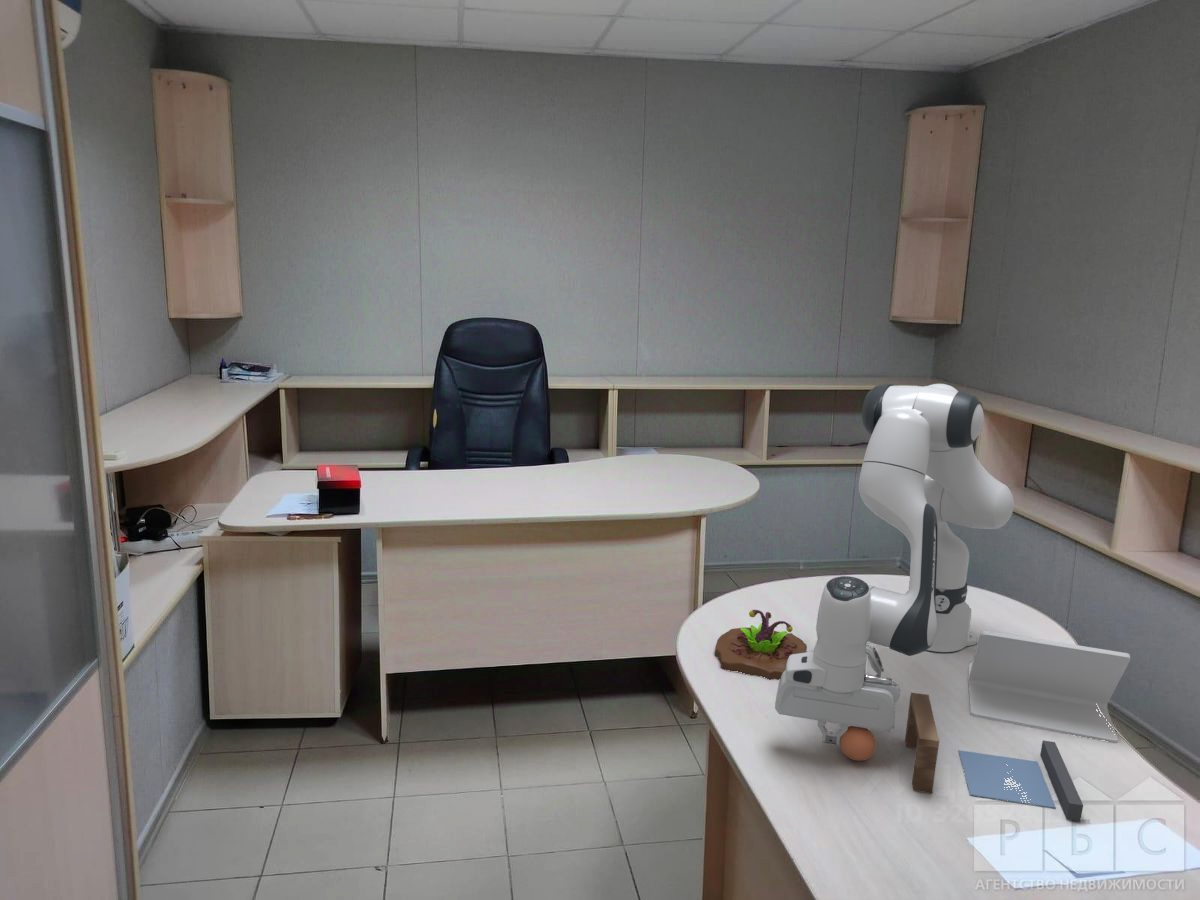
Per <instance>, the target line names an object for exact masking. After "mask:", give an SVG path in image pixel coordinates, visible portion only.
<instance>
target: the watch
mask: <svg viewBox="0 0 1200 900" xmlns="http://www.w3.org/2000/svg"><path fill="white" fill-rule="evenodd" d="M866 654H867V658H868V659H867V660H868V661H869V664H870V666H871V668H872V670H873V671H874V672H875V673H876V675H874V676H877V677H881V678H882V673H883V672H884V669H885V668H884V665H883V662H882V659H881V656H880V654H879V652H878V650H877V649H876V648H875V646H873V647H872V646H870V644H866Z"/></svg>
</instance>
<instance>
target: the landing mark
mask: <svg viewBox="0 0 1200 900" xmlns="http://www.w3.org/2000/svg"><path fill="white" fill-rule="evenodd" d="M958 755H959V759H960V762H961V763H960V764H961V767H962V766H963V767H962V770H963V769H964V771H963V774H964V773H965V775H964V778H965V777H966V778H965V782H966V781H967V782H966V786H967V789H969V790H968V793H970V794H969V796H970V795H974V796H973V797H976V796H980V797H979V798H982V797H986V798H985V799H989V798H990V799H989V800H995V799H998V800H997V801H1002V800H1006V801H1005V802H1008V801H1012V802H1011V803H1015V802H1021V803H1022V801H1023V803H1025V801H1024V800H1026V803H1027V804H1026V805H1028V804H1032V805H1031V806H1034V805H1036V807H1041V808H1047V809H1054V810H1055V809H1056V808H1057V807H1056V805H1055V802H1054V799H1053V796H1052V794H1051V792H1050V790H1049V787H1048V784H1047V782H1046V779H1045V777H1044V774H1043V771H1042V769H1041V767H1040V765H1039V762H1038V761H1037V760H1031V759H1030V760H1029V759H1024V758H1023V759H1022V758H1015V757H1009V756H1001V755H995V754H988V753H987V754H986V753H982V752H981V753H980V752H974V751H967V750H959V749H958ZM1006 764H1007V765H1008V766H1007V765H1006ZM1012 769H1013V770H1012ZM1010 771H1011V772H1010ZM1007 772H1008V773H1009V774H1008V773H1007ZM1012 776H1013V777H1012ZM1010 777H1011V778H1012V779H1013V780H1012V781H1013V782H1015V781H1016V784H1018V785H1019V783H1020V784H1021V785H1020V786H1018V787H1019V789H1018V787H1011V785H1004V783H1005V784H1007V783H1009V782H1007V783H1006V782H1005V779H1006V780H1008V779H1007V778H1009V779H1010ZM1004 778H1005V779H1004ZM1010 780H1011V779H1010ZM1014 780H1015V781H1014ZM1012 781H1010V782H1011V783H1012ZM1009 784H1010V783H1009ZM1012 784H1013V783H1012ZM1016 784H1014V785H1016ZM1014 785H1012V786H1014ZM1008 786H1010V788H1009V787H1008ZM1016 786H1017V785H1016ZM1004 787H1005V788H1004ZM1006 787H1008V788H1006ZM1021 787H1022V788H1021ZM1012 788H1013V789H1012ZM1015 788H1017V789H1015ZM1004 789H1005V790H1004ZM1007 789H1008V790H1007ZM1010 789H1012V790H1010ZM1022 789H1023V790H1022ZM1016 790H1017V791H1016ZM1019 790H1021V791H1019ZM1023 792H1025V793H1026V792H1027V793H1026V794H1024V793H1023ZM1018 793H1019V794H1018ZM1021 793H1023V794H1021ZM1022 795H1023V796H1025V795H1027V796H1026V797H1027V799H1026V797H1022ZM1020 798H1022V799H1020ZM1023 798H1025V799H1023ZM1030 799H1031V800H1030ZM1007 800H1008V801H1007ZM1021 800H1022V801H1021ZM1027 800H1029V801H1027ZM1028 802H1030V803H1028ZM1021 803H1020V804H1021ZM1033 804H1034V805H1033ZM1056 810H1057V809H1056Z"/></svg>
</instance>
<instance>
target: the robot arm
mask: <svg viewBox="0 0 1200 900" xmlns="http://www.w3.org/2000/svg"><path fill="white" fill-rule="evenodd" d="M984 415H985V413H984V407H983V403H982V402H981V401H980V399H979V398H978V397H977V396H976V395H975V394H971V393H969V392H966V391H963V390H957V389H956V388H955V387H954V386H952V385H949V384H946V383H932V384H929V385H924V386H921V385H894V384H892V383H885V384H877V385H875V386H874V387H872V388H871V389H870V390H869V391H868V392H867V394H866V395H865V398H864V400H863V403H862V409H861V421H862V425H863V427H864V428H865V430H866V431H867V433H868V434H870V435H871V436H870V438H869V441H868V444H867V446H866V450H865V453H864V457H863V460H862V463H861V465H862V466H861V467H860V468H861V469H860V473H859V480H858V493H859V495H860V498H861V500H862V502H863V504H864V505H865V506H866V507H867V508H868V510H870V511H871V512H872V513H874V514H875V515H876V516H877V517H878V518H880V519H882V520H883V521H885V522H886V523H888V524H889V525H891V526H893V527H894V528H896V529H897V530H898V531H900V532H901V533H902V534H903V535H904V536H905V537H906V539H907V541H908V542H909V543H908V544H909V546H910V565H909V566H910V567H909V568H910V569H909V581H908V582H909V583H908V590H907V591H906V593H900V592H896V591H892V590H888V589H884V588H880V587H876V586H874V585H871V584H868V583H867V582H866V581H864V580H862V579H861V578H858V577H854V576H845V575H844V576H836V577H833V578H831V579H830V580H828V581H826V583H825V586H823V591H822V594H821V597H820V601H819V606H818V610H817V611H818V613H817V618H816V627H815V630H816V636H817V640H816V643H815V646H814V648H813V651H806V653H799V654H792V655H790V656H789V658H788V660H787V664H786V670H785V671H784V672H783V674H782V676H781V678H780V680H779V682H778V686H777V689H776V697H775V702H774V709H775V711H776V712H777V713H778V715H781V716H788V717H794V718H801V719H806V720H813V721H817V727H818V729H819V731H820V733H821V736H822V737H821V738H822V739H821V743H822V744H830V745H835V746H840V737H842V736H843V734H844V733H845V732H846V731H847V729H848V727H849V726H855V727H861V728H867V729H869V730H875V731H879V732H880V731H881V732H891V731H892V730H893V729H894V728H895V723H896V721H895V719H896V707H895V704H896V703H897V702H898V701H899V699H900V694H901V687H900V685H899V684H898V683H897V682H896V681H893V679H892V678H889V677H882V676H881V677H877V676H875V675H870V674H866V668H867V660H868V659H867V658H868V655H867V654H866V652H867V651H866V645H868V643H871V644H875V645H879V646H881V647H885V648H889V649H890V650H893V651H895V652H898V653H900V654H903V655H905V656H907V657H913V656H915V655H919V654H921V653H923V652H925V651H929V652H930V651H931V652H936V653H937V652H938V653H951V652H957V651H960V650H963V649H964V648H967V647H969V646H974V645H976V644H977V638H976V636H974V634H973V633H972V632H971V623H972V622H971V619H972V608H971V607H970V605H969V604H968V603H967V602H966V599H967V595H968V583H967V577H968V570H969V569H968V568H969V562H970V552H969V551H970V550H969V549H968V546H967V545H966V543H965V542H964V541H963V540H962V538H959V537H958V536H957V535H956V534H954V533H953V531H952V530H951V529H950V527H949V525H948V523H951V524H954V525H958V526H959V525H960V526H963V527H964V526H965V527H967V528H972V529H981V530H982V529H986V530H998V529H1000V528H1002V527H1003V526H1004V525H1006V524H1007V522H1008V521H1009V520H1010V519H1011V517H1012V515H1013V513H1014V510H1015V509H1014V507H1015V502H1014V501H1015V500H1014V496H1013V493H1012V491H1011V490H1010V488H1009V487H1008V485H1006V484H1004V483H1003V482H1001V481H1000V480H999V479H997V478H995V477H994V476H993V475H992V474H990V472H989V471H987V470H986V468H984V466H983V465H982V464H981V462H980V461H979V460H978V458H977V456H976V454H975V451H974V447H973V446H974V445H973V444H974V443H975V442H976V441H977V440H978V438H979V436H980V435H981V432H982V430H983V427H984V421H985V419H984V418H985V416H984ZM827 723H831V724H837V725H839V726H838V728H837V730H830V729H827V727H826V724H827Z"/></svg>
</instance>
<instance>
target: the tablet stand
mask: <svg viewBox="0 0 1200 900" xmlns="http://www.w3.org/2000/svg"><path fill="white" fill-rule="evenodd" d="M1130 661H1131V654H1130V653H1128V652H1121V651H1116V650H1109V649H1105V648H1096V647H1091V646H1084V645H1079V644H1078V645H1077V644H1072V643H1065V642H1061V641H1060V642H1059V641H1054V640H1047V639H1041V638H1036V637H1035V638H1033V637H1028V636H1022V635H1016V634H1009V633H1005V632H1004V633H1003V632H998V631H997V632H996V631H991V630H982V631H980V634H979V639H978V642H977V646H976V649H975V653H974V657H973V661H972V662H969V664H968V669H967V670H968V671H967V672H968V673H967V682H968V684H967V685H968V698H969V712H970V716H972V717H974V718H978V719H984V720H990V721H994V722H1001V723H1006V724H1010V725H1011V724H1012V725H1016V726H1022V727H1027V728H1032V729H1037V730H1041V731H1042V730H1043V731H1048V732H1053V733H1059V734H1063V735H1068V734H1069V735H1068V736H1073V735H1075V736H1074V737H1079V736H1081V737H1080V738H1084V737H1087V738H1086V739H1089V738H1092V739H1091V740H1095V739H1097V740H1096V741H1100V740H1105V741H1108V742H1107V743H1110V742H1112V743H1111V744H1117V743H1118V740H1119V739H1118V736H1117V733H1115V732H1116V730H1115V727H1114V724H1113V722H1112V719H1111V715H1110V712H1109V710H1108V704H1109V703H1110V702H1109V701H1110V699H1111V698H1112V696H1113V694H1114V692H1115V690H1116V688H1117V686H1118V684H1119V682H1121V681H1120V680H1121V679H1122V677H1123V675H1124V673H1125V671H1126V669H1127V667H1128V665H1129V663H1130ZM1096 703H1097V704H1098V706H1099V708H1100V710H1101V712H1102V713H1103V715H1104V716H1105V718H1104V717H1103V715H1102V714H1101V713H1100V711H1099V709H1098V707H1097V705H1096ZM1096 709H1097V710H1098V712H1097V711H1096ZM1099 714H1100V715H1101V717H1100V716H1099ZM1106 719H1107V721H1106ZM1108 722H1109V723H1110V724H1111V725H1112V726H1110V725H1109V723H1108ZM1106 723H1107V724H1106ZM1108 725H1109V727H1108ZM1112 727H1113V728H1114V730H1113V728H1112ZM1110 728H1111V729H1110ZM1112 731H1113V732H1112ZM1114 734H1115V735H1114ZM1105 741H1104V742H1105Z"/></svg>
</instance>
